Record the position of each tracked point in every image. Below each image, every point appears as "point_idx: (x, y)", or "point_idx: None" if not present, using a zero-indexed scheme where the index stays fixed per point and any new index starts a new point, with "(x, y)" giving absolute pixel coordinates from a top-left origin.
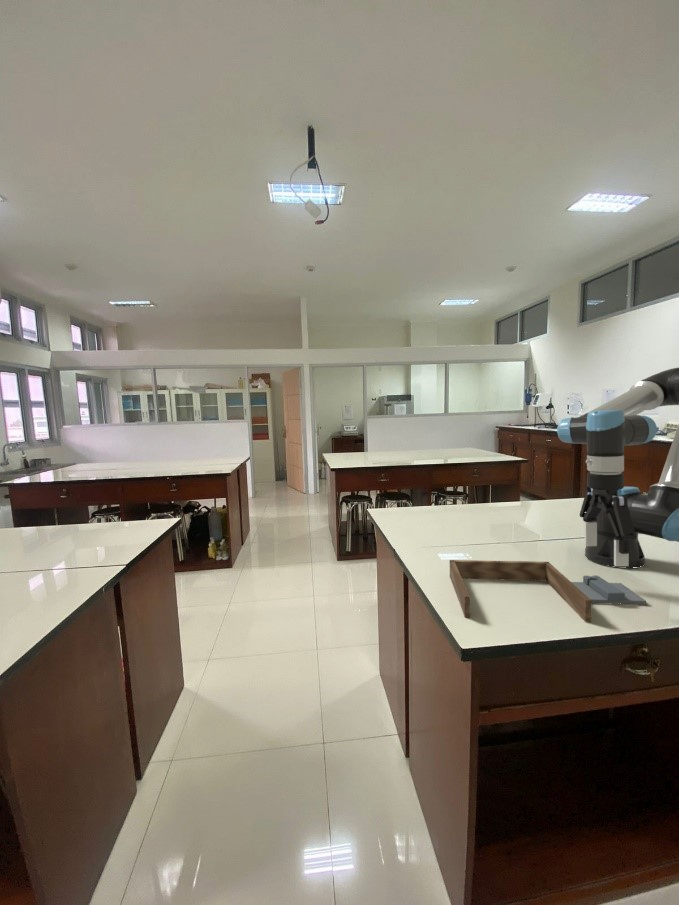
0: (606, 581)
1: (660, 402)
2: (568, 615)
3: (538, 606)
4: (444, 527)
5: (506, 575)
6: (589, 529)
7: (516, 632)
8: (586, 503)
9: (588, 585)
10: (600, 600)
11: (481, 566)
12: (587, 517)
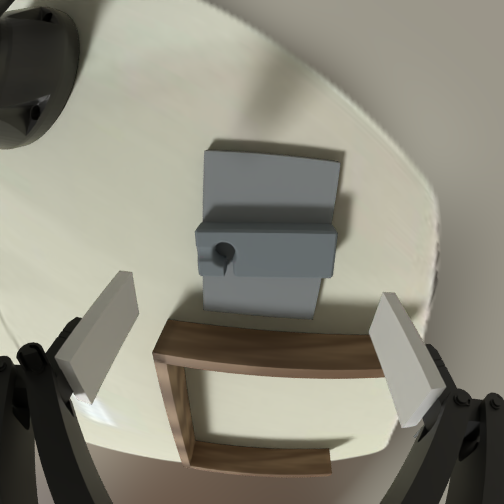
0: (248, 233)
1: None
2: None
3: (313, 386)
4: None
5: (185, 398)
6: (101, 361)
7: (377, 420)
8: (35, 497)
9: (226, 262)
10: (320, 281)
11: (186, 438)
12: (80, 431)
